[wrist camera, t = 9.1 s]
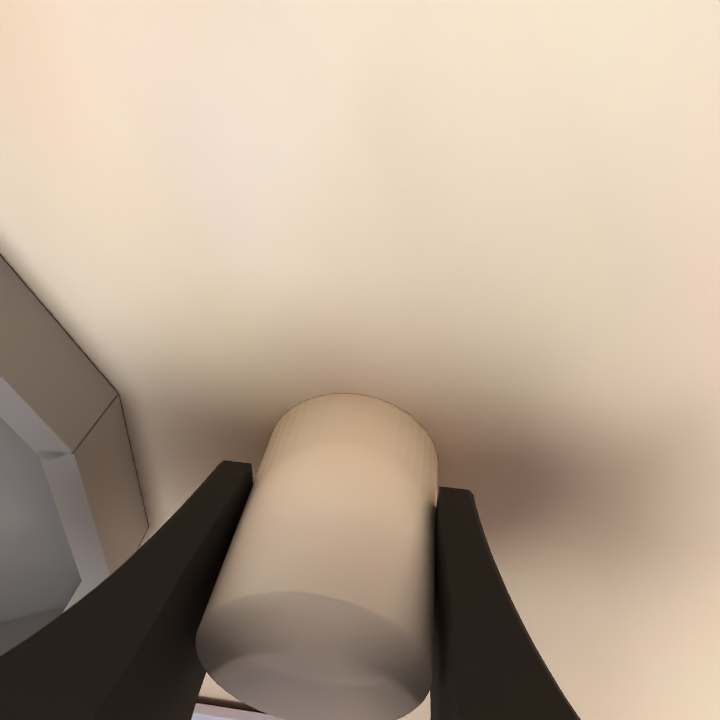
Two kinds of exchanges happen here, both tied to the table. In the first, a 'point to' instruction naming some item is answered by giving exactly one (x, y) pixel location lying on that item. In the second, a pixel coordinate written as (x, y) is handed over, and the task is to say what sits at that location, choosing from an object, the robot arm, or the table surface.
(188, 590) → the robot arm
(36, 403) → the groove tray
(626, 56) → the table surface
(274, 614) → the bead cream
